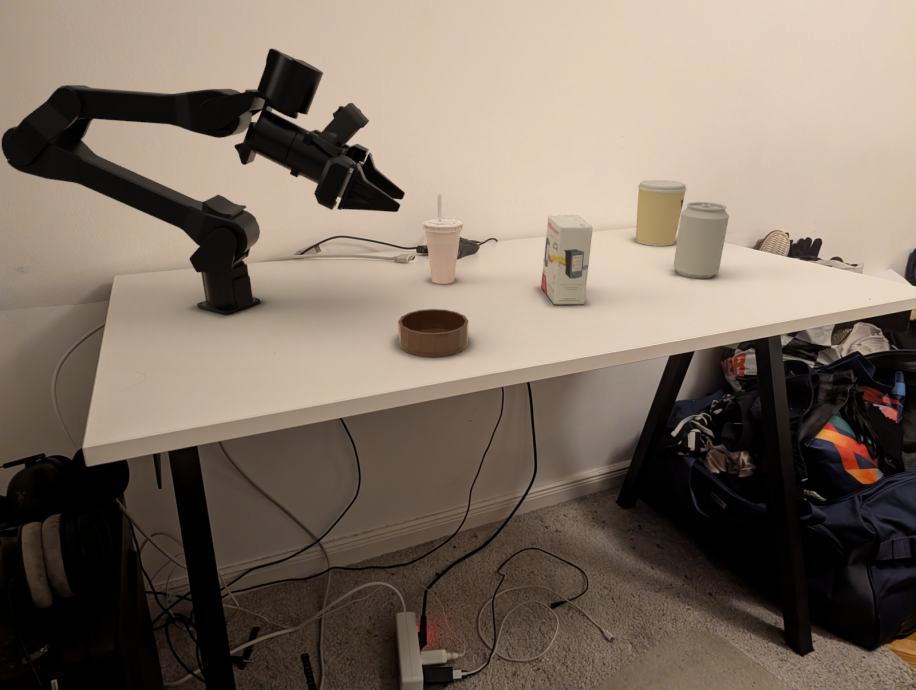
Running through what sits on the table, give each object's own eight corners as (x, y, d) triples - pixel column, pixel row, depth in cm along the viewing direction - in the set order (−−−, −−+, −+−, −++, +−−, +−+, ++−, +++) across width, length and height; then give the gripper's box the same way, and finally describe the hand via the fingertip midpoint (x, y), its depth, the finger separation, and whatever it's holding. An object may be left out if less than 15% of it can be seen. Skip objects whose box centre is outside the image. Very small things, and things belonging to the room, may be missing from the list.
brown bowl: (385, 347, 75) (384, 324, 74) (424, 325, 82) (423, 304, 81) (444, 362, 71) (444, 339, 70) (479, 338, 78) (480, 316, 77)
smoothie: (425, 274, 104) (424, 191, 98) (462, 275, 103) (464, 192, 98) (422, 286, 98) (420, 198, 92) (461, 286, 98) (462, 198, 92)
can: (672, 277, 103) (683, 206, 99) (672, 266, 110) (682, 199, 105) (719, 281, 101) (733, 209, 97) (716, 269, 108) (728, 201, 103)
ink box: (540, 288, 97) (545, 214, 93) (571, 287, 98) (577, 214, 93) (553, 306, 89) (559, 226, 85) (586, 305, 90) (594, 226, 85)
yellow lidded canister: (687, 245, 124) (696, 185, 119) (646, 248, 122) (655, 187, 117) (661, 235, 132) (669, 179, 128) (623, 237, 130) (630, 180, 125)
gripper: (301, 90, 69) (424, 154, 72) (330, 88, 86) (429, 141, 89) (267, 179, 73) (386, 237, 76) (301, 161, 90) (397, 209, 93)
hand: (401, 202), depth 83 cm, fingers open, 9 cm apart
